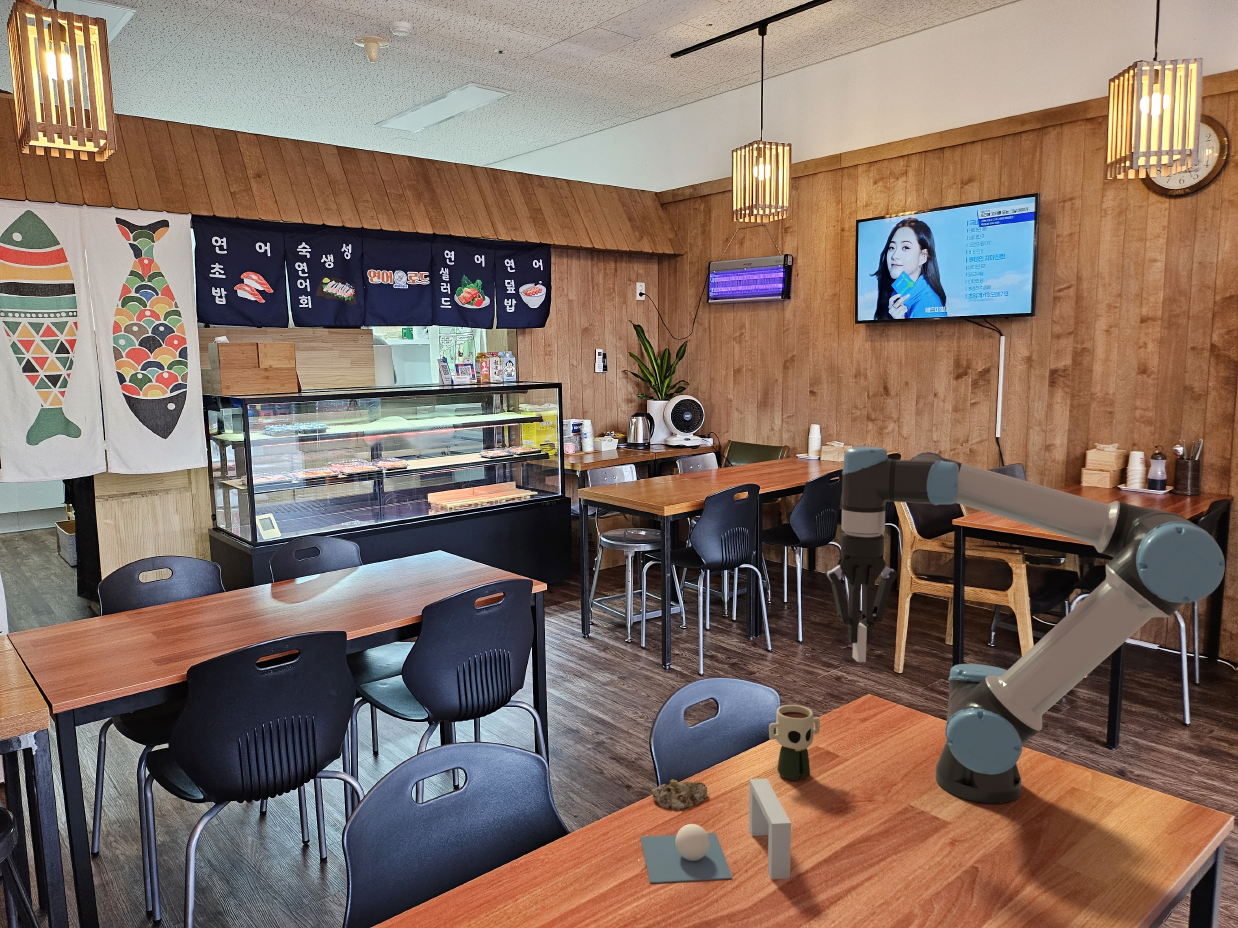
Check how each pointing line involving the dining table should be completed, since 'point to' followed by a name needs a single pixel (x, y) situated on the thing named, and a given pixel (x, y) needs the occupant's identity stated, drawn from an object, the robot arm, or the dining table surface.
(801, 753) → the character mug
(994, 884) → the dining table surface
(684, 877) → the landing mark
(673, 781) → the mineral rock
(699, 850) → the ball
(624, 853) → the dining table surface
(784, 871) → the bridge
